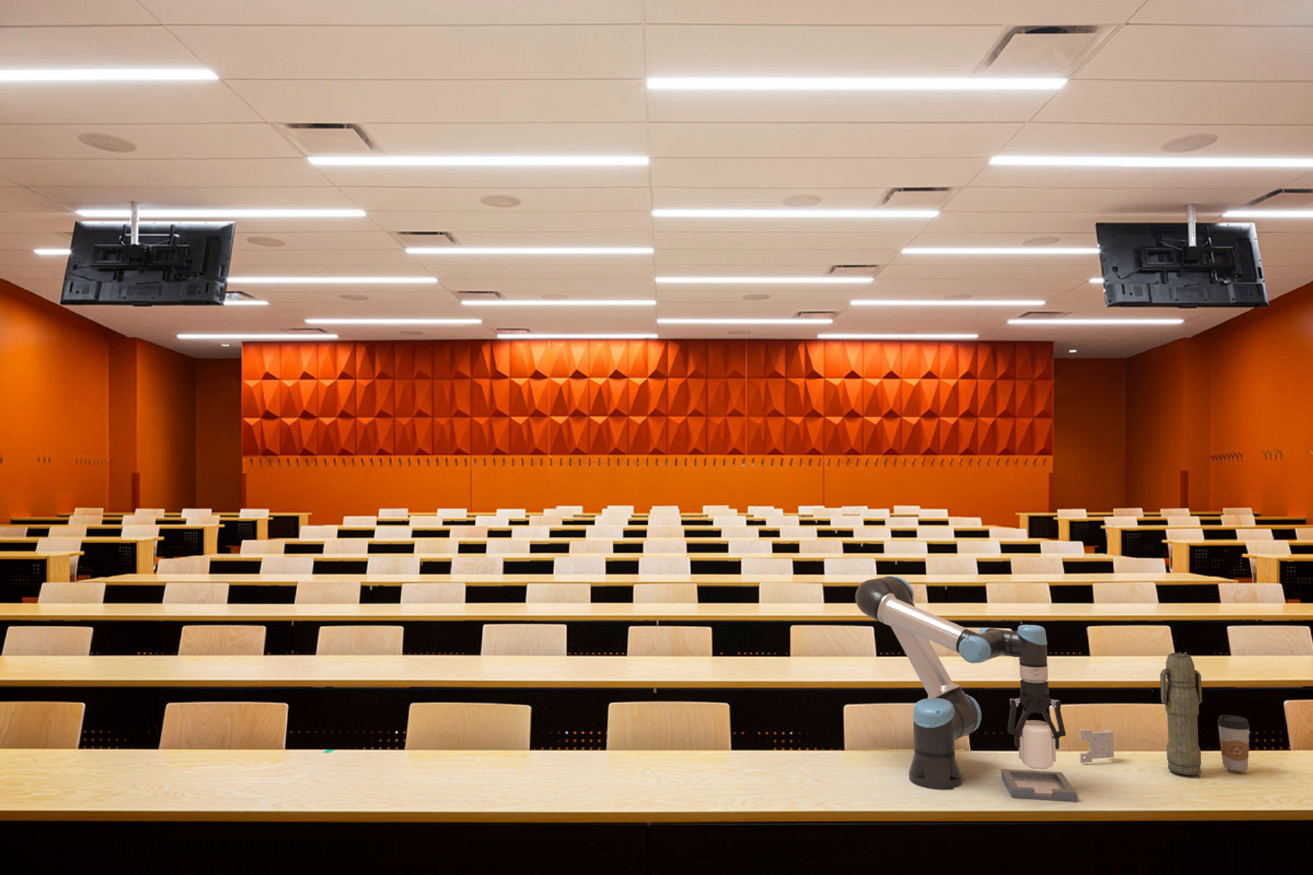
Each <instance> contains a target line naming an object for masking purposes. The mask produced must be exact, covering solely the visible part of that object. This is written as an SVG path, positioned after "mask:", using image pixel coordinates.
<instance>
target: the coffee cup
mask: <svg viewBox="0 0 1313 875" xmlns="http://www.w3.org/2000/svg"><path fill="white" fill-rule="evenodd" d="M1217 726H1218V733H1219V745H1220V753H1221V758H1222V761H1221V762H1222V765H1223V767H1224V768H1225V769H1227V770H1230V771H1238V772H1244V771H1245V772H1246V771H1247V769H1248V767H1249V756H1250V755H1249V750H1250V747H1249V746H1250V742H1249V740H1250V723H1249V722H1248V719H1247V718H1246V717H1243V716H1239V715H1231V714H1229V715H1228V714H1223V715H1219V716H1218V719H1217Z"/></svg>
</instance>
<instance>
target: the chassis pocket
mask: <svg viewBox="0 0 1313 875" xmlns="http://www.w3.org/2000/svg"><path fill="white" fill-rule="evenodd" d="M1000 777H1001V780H1002V782H1003V783H1004V785H1005V787H1006V789H1007V791H1008V793H1009V795H1010V797H1011V799H1021V800H1022V799H1023V800H1040V801H1058V802H1070V803H1071V802H1073V803H1075V802H1076V803H1077V802H1078V793H1077V791H1076V789H1075V788H1074V787H1073V785H1072V784H1071V783H1070V781H1069V780H1068V779H1067V777H1066V776H1065V775H1064V773H1063V772H1060V771H1048V770H1047V771H1045V770H1028V769H1027V770H1026V769H1025V770H1024V769H1013V768H1012V769H1011V768H1009V769H1007V768H1000Z"/></svg>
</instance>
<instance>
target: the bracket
mask: <svg viewBox="0 0 1313 875" xmlns="http://www.w3.org/2000/svg"><path fill="white" fill-rule="evenodd" d="M1078 736H1079V737H1078V738H1079V739H1080V740H1087V741H1088V743H1089V749H1088V750H1087V751H1086V752H1079V762H1080V763H1093V760H1094V759H1095V760H1096V759H1108V758H1109V759H1112V758H1115V756H1114V755H1115V751H1114V748H1115V747H1114V732H1113V731H1112V730H1109V729H1107V728H1104V727H1103V731H1095V732H1092V729H1090V728H1089V729H1088V728H1086V729H1079V730H1078Z"/></svg>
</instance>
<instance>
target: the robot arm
mask: <svg viewBox="0 0 1313 875" xmlns="http://www.w3.org/2000/svg"><path fill="white" fill-rule="evenodd" d="M914 597H915V594H914V590H913V588H912V586H911V584H910V583H909V582H908V581H907V580H905V579H904V578H902V577H900V576H894V575H893V576H892V575H889V576H888V575H886V576H884V577H878V578H872V579H871V578H870V579H867V580H865V581H863V582H862V583H861V584H860V585H858V588H857V589H856V592H855V604H856V605H857V608H858V609H859V610H860V612H862V613H863V614H864V615H866V616H867V617H870V618H871V619H874V620H876V621H879V622H880V623H883V625H887V626H889V627H891V629H892V631H893V634H894V636H896V639H897V641H898V642H899V644H900V646H901V647H902V649H903V651H904V652H905V654H906V658H908V660H909V662H910V664H911V666H912V668H913V670H914V671H915V673H916V675H917V677H918V679H919V680H920V682H921V685H922V686H923V688H924V690H925V691H926V693H927V698H923V699H920V700H918V701H917V702H916V703H915V704H914V706H913V713H912V720H913V740H914V741H913V744H914V746H913V747H914V755H913V758H912V761H911V765H910V768H909V770H908V779H909V781H910V783H912V784H914V785H916V786H918V787H920V788H925V789H930V790H937V791H949V790H954V789H956V788H959V787H960V786H961V785H963V776H962V773H961V770H960V767H959V764H958V761H957V759H956V740H959V739H961V738H963V737H966V736H969V735H971V734H972V733H973V732H975V731H976V730H977V729H978V728H979V726H980V724H981V720H982V711H981V707H980V705H979V703H978V702H977V701H976V699H975V698H973V697H972V696H970V695H968V694H966V693H965V691H964V690H963V688H962V686H961V685H959V684H956V683H954V682H953V680H952V679H951V676H950V675H949V673H948V672H947V669H946V668H945V667H944V664H943V662H942V661H941V659H940V658H939V655H938V653H937V652H936V650H935V649H934V648H935V647H933V645H932V643H931V642H934V643H936V644H938V645H940V646H942V647H945V648H946V649H949V650H951V651H954V652H956V653H958V654H959V655H960V657H962V659H963V660H964V661H966V663H970V664H980V663H984V662H986V661H990V660H992V659H995V658H997V657H1000V656H1005V657H1013V658H1018V660H1019V678H1021V679H1020V681H1019V684H1020V685H1019V686H1020V695H1019V697H1018V698H1013V697H1011V698H1009V700H1008V701H1009V704H1010V709H1009V716H1008V724H1007V732H1008V733H1009V734H1010V735H1012V736H1014V746H1015V747H1016V748H1018V757H1019V759H1020V761H1022V760H1024V753H1023V737H1022V736H1021V732H1022V730H1023V727H1024V724H1025V722H1026V721H1027V720H1028V718H1029V716H1030V714H1036V713H1037V714H1042V716H1043V717H1044V719H1045V722H1046V723H1048V725H1049V727H1050V728H1051V731H1052V753H1053V763H1056V762H1057V752H1056V750H1059V749H1060V739H1061V737H1066V730H1065V725H1064V720H1063V716H1062V712H1061V707H1062V702H1061V701H1060V700H1059V699H1051V698H1050V696H1049V694H1050V689H1049V682H1048V680H1049V672H1048V670H1049V669H1048V648H1047V647H1048V641H1047V634H1046V629H1045V628H1044V627H1043V626H1041V625H1036V624H1021V625H1019V626H1018V627H1017V630H1016V631H1013V630H1009V629H1008V630H1006V629H1001V628H1000V629H998V628H995V627H989V628H988V627H983V628H981V629H979V631H978V632H976V631H973V630H971V629H968V628H966V627H964V626H961V625H959V624H957V623H955V622H952V621H950V620H947V619H945V618H942V617H941V616H938V615H935V614H933V613H931V612H929V611H926V610H923V609H921V608H919V607H916V605H915V604H914ZM1019 704H1021V705H1022V706H1023V708H1022V713H1021V715H1020V717H1019V719H1018V722H1017V724H1016V717H1017V707H1018V706H1019ZM1050 705H1051V706H1052V707H1053V710H1054V714H1055V719H1056V724H1057V727H1058V728H1056V726H1055V725H1054V722H1053V721H1052V719H1051V717H1050V714H1049V712H1048V711H1047V708H1048V707H1049V706H1050ZM1015 724H1016V726H1015ZM1057 729H1058V731H1057Z"/></svg>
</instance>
